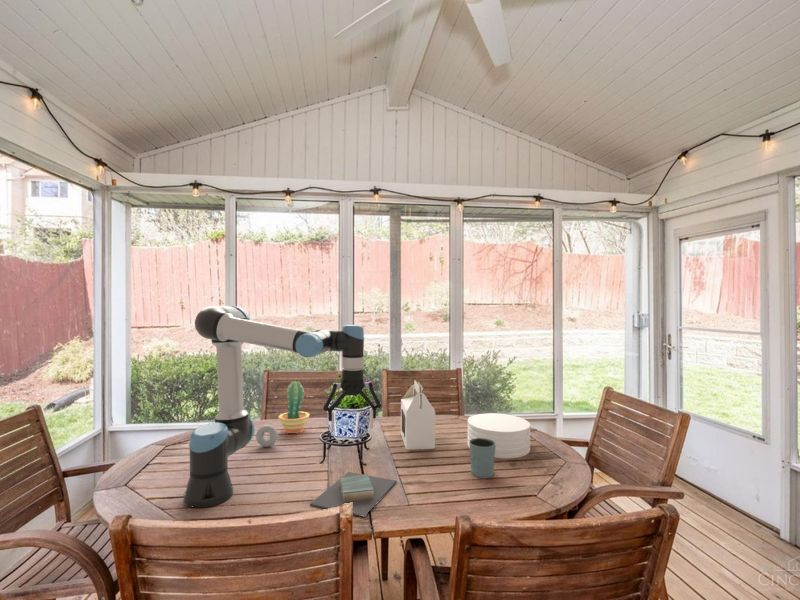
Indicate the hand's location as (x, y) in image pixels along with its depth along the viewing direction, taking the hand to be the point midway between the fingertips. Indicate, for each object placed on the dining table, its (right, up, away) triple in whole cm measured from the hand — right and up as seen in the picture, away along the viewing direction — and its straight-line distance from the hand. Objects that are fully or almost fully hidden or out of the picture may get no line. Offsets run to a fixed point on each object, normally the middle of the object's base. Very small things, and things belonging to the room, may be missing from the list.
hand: (352, 428), depth 141 cm
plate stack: (+62, -22, +43) cm, 79 cm away
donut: (-44, -22, +41) cm, 64 cm away
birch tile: (0, -20, +3) cm, 20 cm away
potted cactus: (-37, -22, +63) cm, 77 cm away
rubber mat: (+2, -22, -2) cm, 22 cm away
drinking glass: (+49, -22, +15) cm, 56 cm away
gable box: (+25, -22, +50) cm, 60 cm away
